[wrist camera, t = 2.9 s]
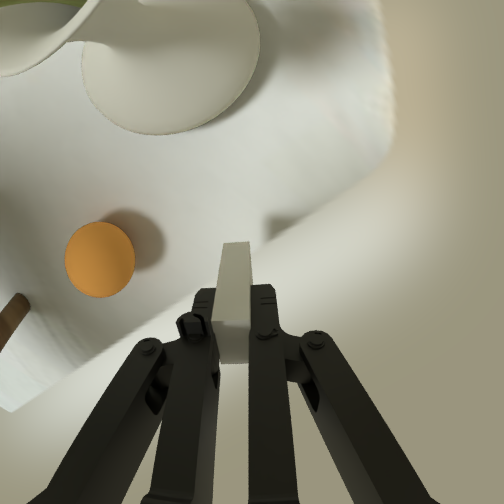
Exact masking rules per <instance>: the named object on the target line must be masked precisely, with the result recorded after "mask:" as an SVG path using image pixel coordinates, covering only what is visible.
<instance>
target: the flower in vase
mask: <svg viewBox="0 0 504 504" xmlns="http://www.w3.org/2000/svg"><path fill="white" fill-rule="evenodd" d="M74 41H85V44H84V48H83V53H82V63H81V68H82V78H83V83H84V86H85V89H86V92H87V94H88V96H89V98H90V100H91V101H92V103H93V104H94V105H95V107H96V108H97V109H98V110H99V111H100V112H101V113H102V114H103V115H104V116H105V117H106V118H107V119H108V120H110V121H111V122H113V123H114V124H116V125H117V126H119V127H121V128H123V129H126V130H129V131H131V132H134V133H139V134H144V135H169V134H176V133H180V132H184V131H187V130H191V129H193V128H196V127H198V126H201V125H203V124H204V123H206V122H208V121H210V120H212V119H213V118H215V117H216V116H218V115H219V114H220V113H222V112H223V111H224V110H226V109H227V108H228V107H229V106H230V105H231V104H232V103H233V102H234V101H235V100H236V99H237V98H238V97H239V96H240V94H241V93H242V92H243V90H244V89H245V87H246V86H247V85H248V83H249V81H250V79H251V77H252V75H253V73H254V70H255V68H256V65H257V62H258V57H259V53H260V31H259V27H258V23H257V19H256V17H255V15H254V13H253V11H252V9H251V7H250V6H249V4H248V3H247V2H246V0H0V77H8V76H13V75H17V74H20V73H22V72H24V71H27V70H29V69H31V68H32V67H34V66H36V65H38V64H40V63H41V62H43V61H44V60H45V59H47V58H48V57H50V56H51V55H52V54H54V53H55V52H56V51H57V50H59V49H60V48H61V47H62V46H63V45H64V44H65V43H66V42H74Z"/></svg>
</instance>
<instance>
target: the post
mask: <svg viewBox="0 0 504 504" xmlns="http://www.w3.org/2000/svg"><path fill="white" fill-rule="evenodd" d="M29 310H30V304H29V302H28V300H27V299H26V298H25V297H24V296H23V295H22V294H19V293H16V294H15V295H14V297H13V298H12V299H11V300H10V301H9V303H8V304H7V305H6V306H5V307H4V309H3V310H2V311H1V313H0V352H1V351H2V349H3V348H4V346H5V344H6V343H7V341H8V340H9V338H10V337H11V335H12V334H13V333H14V331H15V330H16V328H17V327H18V325H19V324H20V323H21V321H22V320H23V318H24V317H25V316H26V314H27V313H28V312H29Z"/></svg>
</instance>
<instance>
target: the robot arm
mask: <svg viewBox="0 0 504 504" xmlns="http://www.w3.org/2000/svg"><path fill="white" fill-rule="evenodd" d="M176 325H177V328H178V331H179V334H180V338H179V339H177V340H175V341H171V342H167V343H163V344H162V342H161V341H160V340H159V339H156V338H145V339H143V340H141V341H139V342H138V343H137V344H136V345H135V346H134V348H133V350H132V351H131V352H130V354H129V355H128V357H127V358H126V360H125V361H124V363H123V365H122V366H121V367H120V369H119V370H118V372H117V373H116V375H115V376H114V378H113V379H112V381H111V382H110V384H109V386H108V387H107V389H106V390H105V392H104V393H103V395H102V396H101V398H100V400H99V401H98V403H97V404H96V406H95V407H94V409H93V411H92V412H91V414H90V416H89V417H88V419H87V420H86V422H85V423H84V425H83V427H82V428H81V430H80V432H79V433H78V435H77V437H76V438H75V440H74V441H73V443H72V445H71V447H70V448H69V450H68V452H67V453H66V455H65V457H64V458H63V460H62V462H61V464H60V465H59V467H58V469H57V471H56V472H55V474H54V476H53V478H52V479H51V481H50V483H49V485H48V487H47V488H46V489H45V490H44V491H43V492H41V493H40V494H39V495H37V496H36V497H35V498H34V499H32V500H31V501H30V502H28V503H27V504H121V503H122V501H123V499H124V497H125V495H126V493H127V491H128V488H129V486H130V484H131V482H132V480H133V478H134V476H135V474H136V472H137V470H138V468H139V466H140V464H141V462H142V460H143V458H144V455H145V453H146V451H147V449H148V447H149V445H150V443H151V441H152V439H153V437H154V435H155V433H156V431H157V429H158V427H159V425H160V423H161V421H162V423H161V429H160V434H159V439H158V445H157V451H156V456H155V462H154V468H153V474H152V480H151V487H150V491H149V493H148V494H146V495H145V496H144V497H143V499H142V500H141V503H140V504H212V498H213V478H214V460H215V443H216V429H217V414H218V401H219V387H220V369H219V360H220V362H221V364H242V363H249V500H248V504H300V503H299V499H298V490H297V479H296V467H295V456H294V445H293V435H292V425H291V415H290V405H289V397H288V396H289V395H288V387H287V381H290V382H296V383H298V386H299V388H300V390H301V393H302V395H303V397H304V399H305V401H306V403H307V405H308V408H309V410H310V412H311V414H312V416H313V418H314V420H315V423H316V425H317V427H318V429H319V431H320V433H321V435H322V437H323V439H324V442H325V444H326V446H327V448H328V450H329V452H330V454H331V456H332V459H333V461H334V463H335V465H336V467H337V469H338V471H339V473H340V475H341V477H342V479H343V481H344V483H345V486H346V488H347V490H348V492H349V494H350V496H351V498H352V500H353V502H354V504H440V503H438V502H436V501H435V500H434V499H432V498H431V497H430V496H429V494H428V492H427V490H426V489H425V487H424V485H423V484H422V482H421V480H420V478H419V477H418V475H417V473H416V472H415V470H414V469H413V467H412V465H411V463H410V462H409V460H408V458H407V457H406V455H405V453H404V452H403V450H402V449H401V447H400V445H399V444H398V442H397V441H396V439H395V437H394V435H393V434H392V432H391V431H390V429H389V427H388V426H387V424H386V423H385V421H384V419H383V418H382V416H381V414H380V413H379V411H378V410H377V408H376V406H375V405H374V403H373V402H372V400H371V398H370V397H369V395H368V394H367V392H366V391H365V389H364V387H363V386H362V384H361V383H360V381H359V380H358V378H357V376H356V375H355V373H354V372H353V370H352V369H351V367H350V365H349V364H348V362H347V361H346V359H345V358H344V356H343V355H342V353H341V352H340V350H339V348H338V347H337V345H336V344H335V342H334V341H333V339H332V338H331V337H330V336H329V335H328V334H327V333H325V332H323V331H317V330H315V331H309V332H307V333H305V334H304V335H303V336H302V337H297V336H292V335H289V334H287V333H285V332H284V331H283V330H282V329H281V327H280V324H279V317H278V308H277V300H276V293H275V289H274V288H273V287H272V285H271V284H261V285H253V279H252V268H251V256H250V244H249V242H235V243H224V244H223V250H222V256H221V262H220V268H219V274H218V280H217V286H216V288H201V289H200V290H199V291H198V292H197V293H196V295H195V298H194V303H193V306H192V311H191V312H187V313H185V314H183V315H181V316H180V317H179V318H178V319H177V321H176Z"/></svg>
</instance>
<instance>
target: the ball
mask: <svg viewBox="0 0 504 504" xmlns="http://www.w3.org/2000/svg"><path fill="white" fill-rule="evenodd" d="M134 267H135V253H134V248H133V245H132V243H131V241H130V239H129V238H128V236H127V235H126V234H125V233H124V232H123V231H122V230H121V229H120V228H118V227H117V226H115V225H113V224H110V223H106V222H93V223H89V224H87V225H85V226H83V227H81V228H80V229H78V230H77V231H76V232H75V233H74V234H73V236H72V237H71V239H70V240H69V242H68V245H67V248H66V251H65V268H66V271H67V274H68V277H69V279H70V280H71V282H72V283H73V285H74V286H75V287H76V288H77V289H78V290H80V291H81V292H83V293H84V294H86V295H89V296H92V297H98V298H102V297H109V296H112V295H114V294H116V293H118V292H119V291H121V290H122V289H123V288H124V287H125V286H126V285H127V284H128V282H129V281H130V279H131V277H132V274H133V272H134Z"/></svg>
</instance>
